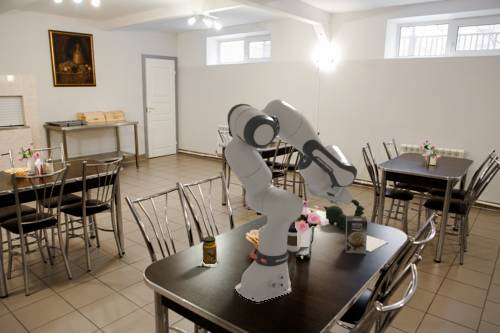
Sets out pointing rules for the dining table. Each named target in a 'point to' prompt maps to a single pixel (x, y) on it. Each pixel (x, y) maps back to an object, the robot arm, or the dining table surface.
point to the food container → (313, 232)
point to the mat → (374, 243)
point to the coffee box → (356, 234)
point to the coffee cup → (292, 238)
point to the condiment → (209, 250)
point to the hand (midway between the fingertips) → (335, 202)
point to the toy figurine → (341, 214)
